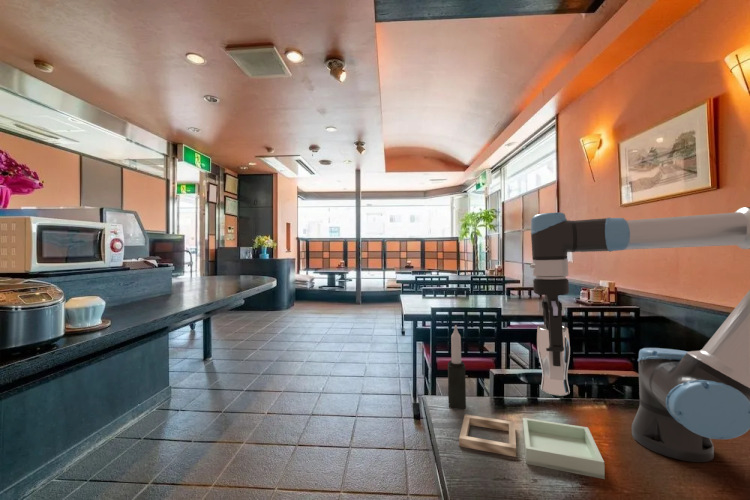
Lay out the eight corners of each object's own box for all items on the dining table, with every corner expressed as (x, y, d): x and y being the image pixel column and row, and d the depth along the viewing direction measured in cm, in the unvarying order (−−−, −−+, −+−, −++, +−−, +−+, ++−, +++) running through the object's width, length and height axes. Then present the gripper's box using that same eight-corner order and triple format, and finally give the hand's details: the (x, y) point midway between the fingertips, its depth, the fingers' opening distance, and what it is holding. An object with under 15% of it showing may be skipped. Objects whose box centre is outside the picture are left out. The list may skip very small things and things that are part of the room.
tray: (588, 441, 84) (587, 427, 84) (604, 479, 70) (604, 462, 70) (523, 430, 90) (522, 417, 90) (526, 463, 76) (525, 448, 76)
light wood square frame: (514, 429, 90) (514, 422, 90) (516, 456, 78) (516, 448, 78) (465, 421, 95) (465, 414, 95) (459, 446, 83) (459, 438, 83)
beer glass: (576, 397, 76) (573, 331, 76) (543, 395, 78) (540, 330, 78) (565, 385, 83) (563, 324, 83) (535, 384, 84) (533, 324, 85)
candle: (466, 409, 102) (464, 327, 103) (449, 408, 103) (447, 326, 103) (464, 402, 107) (463, 323, 108) (448, 401, 108) (447, 323, 108)
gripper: (530, 275, 91) (534, 360, 91) (536, 280, 73) (541, 387, 73) (561, 274, 89) (565, 362, 88) (576, 280, 70) (581, 391, 70)
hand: (554, 373), depth 80 cm, fingers closed on beer glass, 6 cm apart
